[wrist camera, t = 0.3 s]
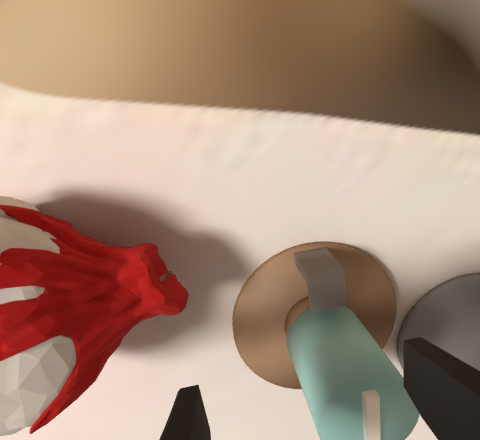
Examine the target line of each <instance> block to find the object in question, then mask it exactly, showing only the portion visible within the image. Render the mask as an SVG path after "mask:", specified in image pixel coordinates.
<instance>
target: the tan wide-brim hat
mask: <svg viewBox="0 0 480 440" xmlns="http://www.w3.org/2000/svg"><path fill="white" fill-rule="evenodd" d="M343 306H345V307H347V308H349V309H350V310H352V311H353V312H354V313H355V315H356V316H357V317H358V319H359V320H360V321H361V323H362V324H363V325H364V327H365V328H366V329H367V331H368V332H369V333H370V335H371V336H372V337H373V338H374V340H375V341H376V342H377V344H378V345H379V346H380V348H381V349H382V348H383V347H384V345H385V344H386V342H387V340H388V338H389V336H390V334H391V332H392V329H393V326H394V322H395V317H396V296H395V292H394V288H393V286H392V283H391V281H390V279H389V277H388V276H387V274H386V273H385V271H384V270H383V269H382V268H381V267H380V265H378V264H377V263H376V262H375V261H374V260H373V259H371V258H370V257H369V256H368V255H366V254H365V253H363V252H362V251H360V250H358V249H356V248H353V247H351V246H348V245H344V244H340V243H334V242H313V243H306V244H302V245H298V246H294V247H292V248H289V249H286V250H284V251H282V252H280V253H278V254H276V255H274V256H273V257H271V258H270V259H268V260H267V261H266V262H264V263H263V264H262V265H261V266H260V267H259V268H257V269H256V270H255V271H254V273H253V274H252V275H251V276H250V277H249V278H248V280H247V281H246V283H245V284H244V286H243V287H242V289H241V291H240V293H239V295H238V298H237V300H236V303H235V307H234V312H233V332H234V340H235V343H236V347H237V349H238V352H239V354H240V356H241V358H242V359H243V361H244V362H245V364H246V365H247V366H248V367H249V368H250V369H251V370H252V371H253V372H254V373H255V374H257V375H258V376H259V377H261V378H263V379H264V380H266V381H268V382H270V383H273V384H275V385H278V386H282V387H286V388H292V389H302V387H301V384H300V381H299V378H298V376H297V373H296V370H295V367H294V365H293V362H292V359H291V356H290V353H289V351H288V348H287V342H286V338H287V333H288V330H289V327H290V325H291V323H292V322H293V321H294V319H295V318H296V317H297V316H298V315H299V314H300V313H302V312H303V311H304V310H306V309H308V308H310V310H311V312H312V313H313V312H318V311H323V310H328V309H333V308H338V307H343Z"/></svg>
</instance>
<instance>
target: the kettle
mask: <svg viewBox="0 0 480 440" xmlns="http://www.w3.org/2000/svg"><path fill="white" fill-rule="evenodd" d="M286 342H287V348H288V351H289V353H290V356H291V359H292V362H293V365H294V367H295V370H296V373H297V376H298V378H299V381H300V384H301V387H302V390H303V392H304V395H305V398H306V401H307V404H308V406H309V409H310V412H311V415H312V418H313V420H314V423H315V426H316V429H317V431H318V434H319V437H320V440H405V439H406V438H407V437H408V436H409V434H410V433H411V432H412V430H413V429H414V427H415V425H416V423H417V421H418V417H419V412H418V410H417V408H416V407H415V405H414V404H413V402H412V400H411V398H410V397H409V395H408V393H407V391H406V390H405V388H404V378H403V377H402V375H401V374H400V373H399V371H398V370H397V369H396V368H395V366H394V365H393V364H392V362H391V361H390V360H389V358H388V357H387V356H386V354H385V353H384V352H383V350H382V349H381V348H380V346H379V345H378V344H377V342H376V341H375V340H374V338H373V337H372V336H371V335H370V333H369V332H368V331H367V329H366V328H365V327H364V325H363V324H362V323H361V321H360V320H359V319H358V317H357V316H356V315H355V313H354V312H353V311H352V310H350V309H349V308H347V307H345V306H343V307H338V308H333V309H328V310H323V311H318V312H313V313H312V312H311V310H310V308H308V309H306V310H304V311H303V312H302V313H300V314H299V315H298V316H297V317H296V318H295V319H294V321H293V322H292V323H291V325H290V327H289V330H288V333H287V338H286Z"/></svg>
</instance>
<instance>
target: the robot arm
mask: <svg viewBox="0 0 480 440" xmlns="http://www.w3.org/2000/svg"><path fill="white" fill-rule="evenodd" d="M403 357H404V388H405V390H406V391H407V393H408V395H409V397H410V398H411V400H412V402H413V404H414V405H415V407H416V408H417V410H418V412H419V413H420V415H421V417H422V418H423V419H424V421H425V422H426V424H427V425H428V426H429V428H430V429H431V430H432V432H433V433H434V435H435V436H436V437H437V439H438V440H480V371H479V370H477V369H475V368H474V367H472V366H470V365H468V364H467V363H465V362H463V361H461V360H460V359H458V358H456V357H454V356H453V355H451V354H449V353H448V352H446V351H444V350H442V349H441V348H439V347H437V346H436V345H434V344H432V343H430V342H429V341H427V340H425V339H423V338H421V337H417V338H412V339H408V340H403ZM160 440H211V435H210V427H209V424H208V420H207V416H206V412H205V408H204V404H203V401H202V397H201V393H200V389H199V385H195V386H190V387H186V388H181V389H180V390H179V391H178V393H177V396H176V399H175V402H174V405H173V408H172V410H171V413H170V415H169V418H168V420H167V423H166V425H165V428H164V430H163V433H162V435H161V437H160Z"/></svg>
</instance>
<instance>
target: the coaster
mask: <svg viewBox="0 0 480 440" xmlns="http://www.w3.org/2000/svg"><path fill="white" fill-rule="evenodd" d="M417 337H421V338H423V339H425V340H427V341H429V342H430V343H432V344H434V345H436V346H437V347H439V348H441V349H442V350H444V351H446V352H448V353H449V354H451V355H453V356H454V357H456V358H458V359H460V360H461V361H463V362H465V363H467V364H468V365H470V366H472V367H474V368H475V369H477V370H479V371H480V273H475V274H467V275H463V276H459V277H456V278H453V279H450V280H448V281H446V282H444V283H442V284H440V285H438V286H437V287H435V288H434V289H432V290H431V291H429V292H428V293H427V294H426V295H424V296H423V297H422V298H421V299H420V300H419V301H418V302H417V303H416V304H415V306H414V307H413V308H412V309H411V310H410V312H409V313H408V315H407V316H406V318H405V320H404V322H403V324H402V327H401V329H400V332H399V336H398V343H397V352H398V357H399V361H400V363H401V366H402V368H403V369H404V357H403V340H408V339H412V338H417Z"/></svg>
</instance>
